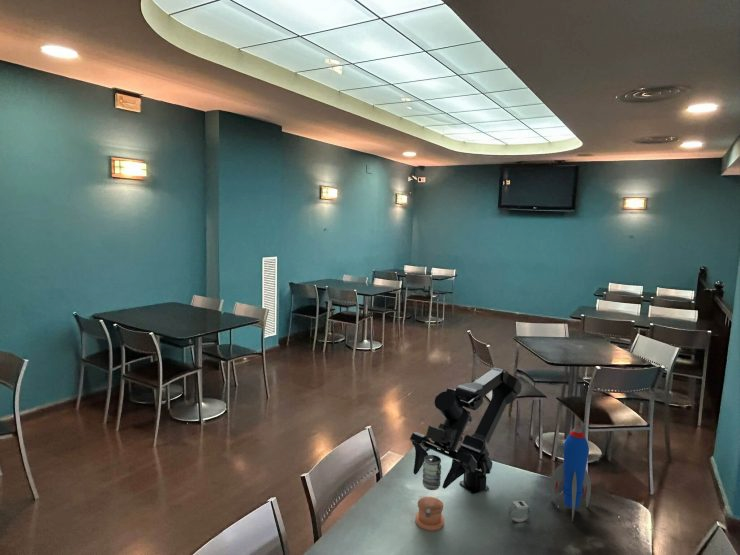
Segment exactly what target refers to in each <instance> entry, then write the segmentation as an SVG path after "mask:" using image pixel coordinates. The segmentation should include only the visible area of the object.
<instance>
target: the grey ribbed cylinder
mask: <svg viewBox="0 0 740 555" xmlns="http://www.w3.org/2000/svg"><path fill="white" fill-rule="evenodd" d="M441 462H442V459H441V457H439V456H438V455H435V454H428V455H427V456H425V457H424V463H423V465H422V466H423V469H422V485H423V487H424V488H425V489H426V490H427V491H438V490H439V489H440V488H439V487H441V478H442V477H441V475H442V471H441V470H442V464H441Z"/></svg>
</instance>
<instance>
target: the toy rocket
mask: <svg viewBox="0 0 740 555" xmlns="http://www.w3.org/2000/svg"><path fill="white" fill-rule="evenodd" d="M562 448H563V450H562V451H563V463H561V464H560V465H558V467H556V469H555V470H554V472H553V474H552V476H551V478H550V484H549V494H550V501H551V502H553V500H554V497H555V495H556V492H557V489H558V487H559V486H560V485H561V483H563V485H562V493H563V503H564V504H565V506H566V507H569V508H571V521H572V522H573V521H574V516H575V510H576V509H577V508H579V507H580V503H581V499H582V497H583V493H584V498H585V505H586V508H588V506H589V503H590V498H591V492H592V484H591V478H590V474H589V473H588V471H587V470H586V469H587V463H588V459H589V454H590V453H589V452H590V448H589V443H588V441H587V438H586V435H585V434H584V432H583V431H582V428H581V427H580V425H579V424H577V425H576V426H574V428H573V429H572V430H570V432H569V434H568V435H567V437H566V438H565V440H564V442H563V447H562Z"/></svg>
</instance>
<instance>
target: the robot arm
mask: <svg viewBox="0 0 740 555" xmlns="http://www.w3.org/2000/svg"><path fill="white" fill-rule="evenodd" d="M522 385H523V384H522V383H521V381H520V380H519V378H518V377H517V378H516V377H515V376H513V375H512V374H511V373H510V372H508V370H506V369H504V368H499V367H496V366H495V367H494V366H493V367H490V369H489V371H488V372H486V373H484V374H483V375H482V376H480V377H478V378H477V379H476V380H474V381H473V382H464V383H461V384H459V385H458V386H457V387H456V388H454V389H453V388H451V387H450V388H449V387H447V389H446V390H445V391H442V392H440V393H438V395H436V397H435V398H434V406H435V408H436V409H437V410H438V411H439V412H440V414H441V416H442V417H443V418H444V419H445V420H444V421H443V423H440V424H439V425H438V427H437V426H432V425H428V428H427V431H426V435H425V434H422V433H419V432H418V431H414V432H413V433H412V434H411V435H410V437H409V441H410V443H411V445H412V446H413V447H414V450H415V453H414V454H415V457H414V465H413V474H414V476H415V475H417V474H418V473H419V472H420V469H421V468H422V466H423V464H424V462H425V461H424V457H425V456H427V455H429V452H428V451H430V450H431V451H434V452H436V453H438V454H441V455H443V456H445V457H448V458H450V459H452V461H451V466H450V468H449V470H448V473H447V475H446V476H445V479H444V480H443V483H442V489H446V488H448V487H449V486H450V485H451V484H452V483H454V482H455V481H456V480H457V479H458V478H460V477H462V476H463V480H461V481H459V485H461V486H462V487H463V488H465V489H466V490H467V491H468V492H469V493H471V494H473V495H476V494H478V493H481V492H484V491H487V490H489V489H490V486H488V485H487V475H490V474H491V471H492V468H493V461H492V460H491V459H490V457H489V456H490V450H489V443H490V440H491V438H492V437H493V434H494V432H495V430H496V428H497V426H498V424H499V422H500V421H501V420H500V419H501V417H502V416H503V413H504V411H505V409H506V407H507V405H509V404H511V403H513V402H514V401H515V400H516V399H517V397H518V396H519V395H520V393H521V391H522V388H523V387H522ZM490 392H492V397H491V400H490V401H489V403H488V405H487V407H486V409H485V411H484V413H483V415H482V417H481V419H480V420H479V422H478V425H477V427H476V429H475V431H474V433H472V434H471V435H470V434H466V435H464V438H463V433H464V431H465V429H466V427H467V425H468V423H469V422H470V423H472V421H473V419H472V415H471V411H468V410H467V409H469V410H472V411H476V410H478V409H479V408H480V407H482V405H483V403H484V397H485V396H487V395H489V393H490ZM459 442H461V443H460V446H459V447H458V449H457V451H456V448H457V446H458V444H459Z"/></svg>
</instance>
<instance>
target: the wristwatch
mask: <svg viewBox="0 0 740 555" xmlns="http://www.w3.org/2000/svg"><path fill="white" fill-rule="evenodd" d="M515 509H516V510H524V509H527V511H526V513H525V514H524V516H522V517H519V518H515V517H512V513H513V512H514V510H515ZM507 515H508V517H509V518H510V520H511V521H514V522H516V523H523V522H525V521H527V520H528V519H529V518H530V517H531V515H532V510H531V507H530V506H529V505H528V504H527V503H526V502H525V501H524V500H517V501H512V504H511V505H510V507H509V508H508V511H507Z"/></svg>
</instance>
